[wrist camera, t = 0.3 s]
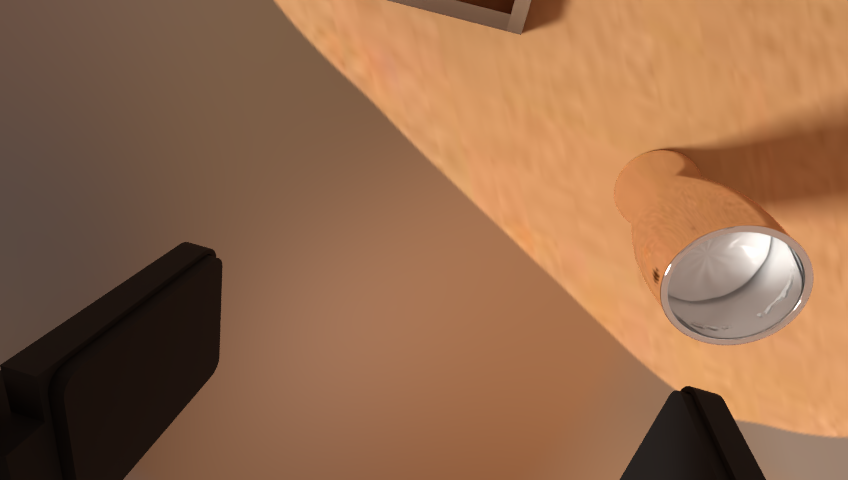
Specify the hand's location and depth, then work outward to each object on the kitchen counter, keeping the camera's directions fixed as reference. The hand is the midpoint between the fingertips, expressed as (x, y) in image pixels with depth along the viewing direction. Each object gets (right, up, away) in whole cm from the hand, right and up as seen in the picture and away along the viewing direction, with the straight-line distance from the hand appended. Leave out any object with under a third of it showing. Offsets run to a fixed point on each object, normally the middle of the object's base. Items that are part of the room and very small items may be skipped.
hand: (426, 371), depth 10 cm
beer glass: (+17, +7, +27) cm, 33 cm away
